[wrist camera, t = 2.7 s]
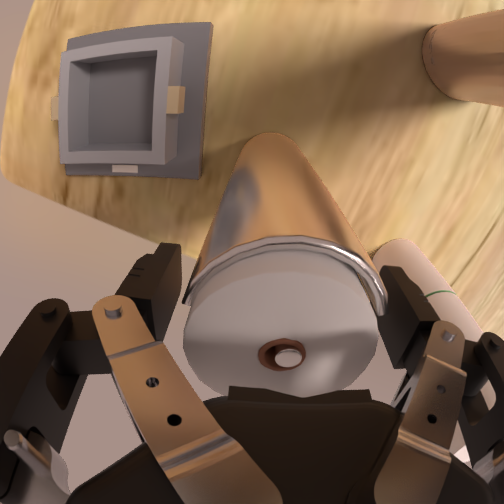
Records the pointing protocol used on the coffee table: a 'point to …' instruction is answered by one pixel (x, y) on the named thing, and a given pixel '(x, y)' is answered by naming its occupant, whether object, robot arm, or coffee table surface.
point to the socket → (134, 101)
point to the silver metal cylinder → (281, 282)
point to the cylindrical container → (435, 308)
